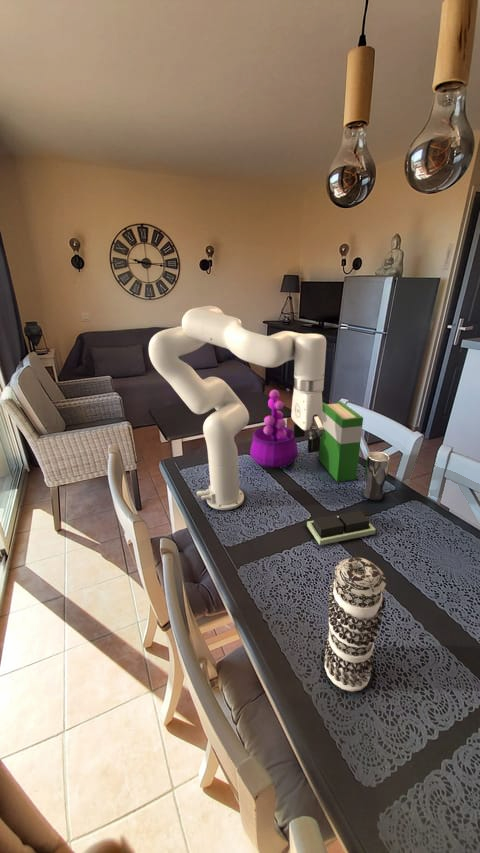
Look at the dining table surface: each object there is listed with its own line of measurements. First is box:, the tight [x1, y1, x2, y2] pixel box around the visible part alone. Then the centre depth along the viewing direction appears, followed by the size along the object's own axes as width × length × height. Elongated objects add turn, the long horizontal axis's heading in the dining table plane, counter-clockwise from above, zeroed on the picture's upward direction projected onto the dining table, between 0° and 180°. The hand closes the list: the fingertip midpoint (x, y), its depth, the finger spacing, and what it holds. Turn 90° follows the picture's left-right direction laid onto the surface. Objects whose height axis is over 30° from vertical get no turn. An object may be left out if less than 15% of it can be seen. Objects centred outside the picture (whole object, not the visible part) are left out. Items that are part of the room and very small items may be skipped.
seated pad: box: [338, 510, 370, 533], centre depth 105 cm, size 7×5×4 cm
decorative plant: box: [249, 389, 299, 469], centre depth 138 cm, size 19×18×30 cm
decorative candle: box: [324, 556, 387, 692], centre depth 64 cm, size 9×9×25 cm
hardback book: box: [317, 400, 364, 482], centre depth 133 cm, size 18×7×24 cm, turn 11°
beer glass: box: [363, 451, 390, 501], centre depth 118 cm, size 7×7×15 cm
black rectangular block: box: [312, 514, 344, 539], centre depth 103 cm, size 7×5×4 cm
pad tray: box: [306, 515, 377, 546], centre depth 105 cm, size 17×9×2 cm, turn 104°
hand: (305, 443), depth 99 cm, fingers open, 9 cm apart
